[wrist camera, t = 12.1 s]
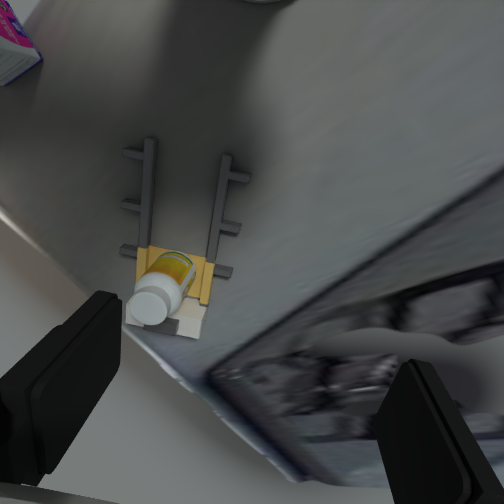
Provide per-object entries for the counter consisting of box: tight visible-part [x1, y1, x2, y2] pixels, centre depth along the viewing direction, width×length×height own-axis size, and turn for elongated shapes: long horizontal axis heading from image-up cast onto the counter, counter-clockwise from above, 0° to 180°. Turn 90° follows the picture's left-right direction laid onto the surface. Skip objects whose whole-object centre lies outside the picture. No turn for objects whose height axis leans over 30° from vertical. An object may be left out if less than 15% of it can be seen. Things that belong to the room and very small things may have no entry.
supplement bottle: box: [129, 250, 196, 325], centre depth 38 cm, size 5×5×10 cm
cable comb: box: [119, 137, 251, 339], centre depth 38 cm, size 22×14×5 cm, turn 169°
